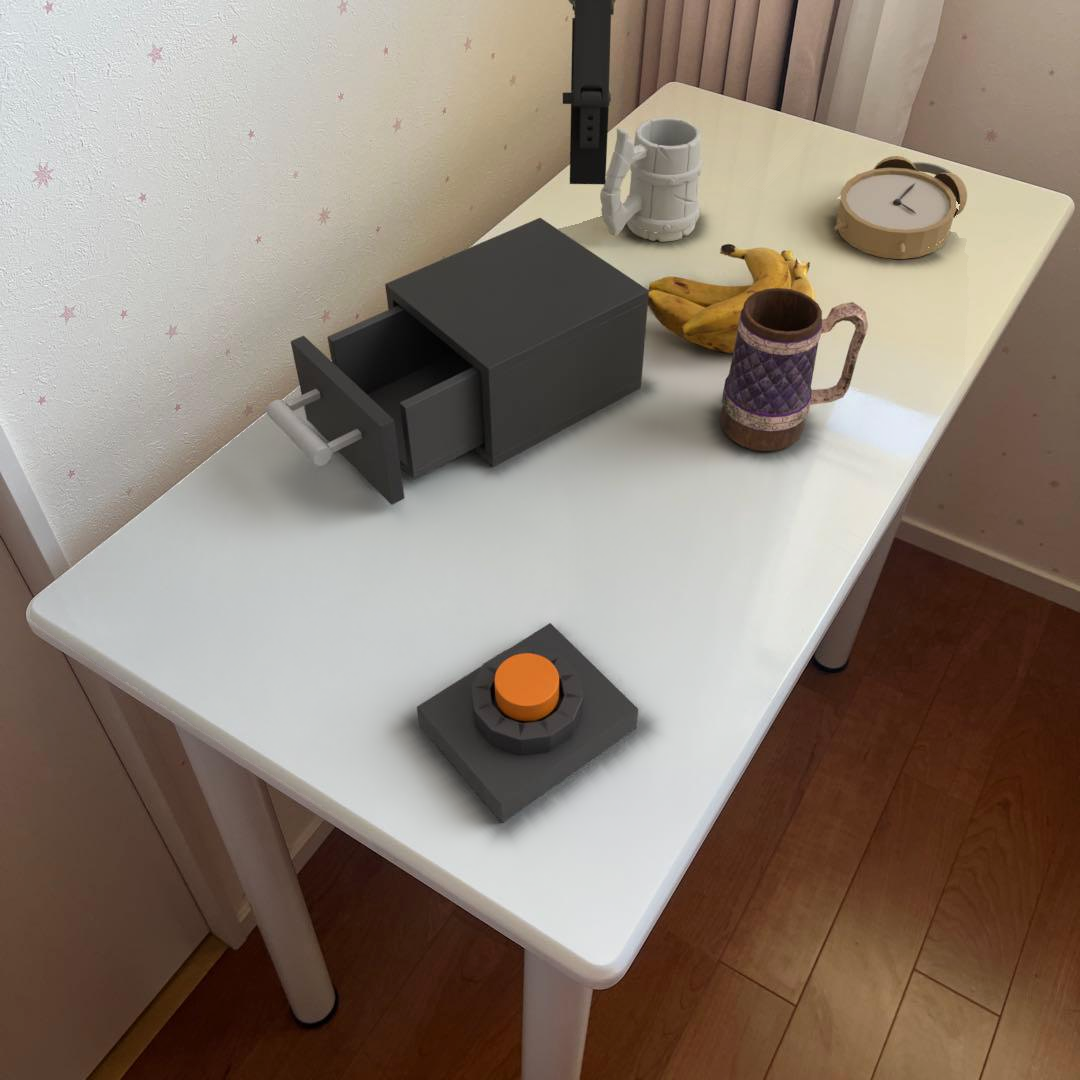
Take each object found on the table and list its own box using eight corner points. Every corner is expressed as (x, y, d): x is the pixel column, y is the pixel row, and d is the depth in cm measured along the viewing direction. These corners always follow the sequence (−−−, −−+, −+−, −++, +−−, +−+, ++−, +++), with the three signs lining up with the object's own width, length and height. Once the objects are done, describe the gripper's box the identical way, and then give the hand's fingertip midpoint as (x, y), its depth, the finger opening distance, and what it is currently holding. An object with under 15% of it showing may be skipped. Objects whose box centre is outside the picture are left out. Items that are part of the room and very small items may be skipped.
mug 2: (719, 452, 90) (739, 332, 81) (716, 396, 95) (734, 276, 86) (847, 458, 89) (880, 337, 80) (837, 401, 94) (867, 281, 85)
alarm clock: (818, 210, 109) (891, 128, 115) (813, 248, 113) (885, 167, 119) (923, 248, 105) (994, 161, 111) (915, 287, 109) (984, 201, 115)
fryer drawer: (343, 531, 83) (328, 452, 77) (260, 441, 89) (240, 362, 84) (541, 425, 91) (541, 347, 85) (451, 350, 97) (445, 273, 92)
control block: (502, 823, 67) (500, 789, 64) (419, 725, 72) (413, 690, 69) (636, 728, 72) (640, 692, 69) (550, 642, 77) (550, 605, 74)
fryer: (493, 467, 89) (488, 368, 81) (396, 381, 96) (384, 283, 89) (641, 387, 95) (649, 290, 88) (540, 313, 103) (540, 217, 96)
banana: (844, 289, 105) (856, 236, 101) (755, 396, 95) (765, 342, 90) (702, 240, 111) (708, 188, 107) (603, 336, 100) (606, 283, 96)
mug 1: (714, 226, 113) (728, 113, 104) (626, 266, 108) (633, 152, 99) (664, 195, 117) (673, 84, 108) (577, 233, 112) (579, 120, 103)
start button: (521, 733, 67) (520, 717, 66) (482, 690, 70) (481, 674, 68) (571, 699, 69) (572, 682, 68) (532, 659, 71) (532, 642, 70)
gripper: (662, -103, 64) (639, 222, 80) (645, -217, 81) (629, 69, 97) (533, -103, 64) (535, 221, 80) (543, -218, 81) (544, 68, 97)
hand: (587, 138), depth 88 cm, fingers open, 13 cm apart
